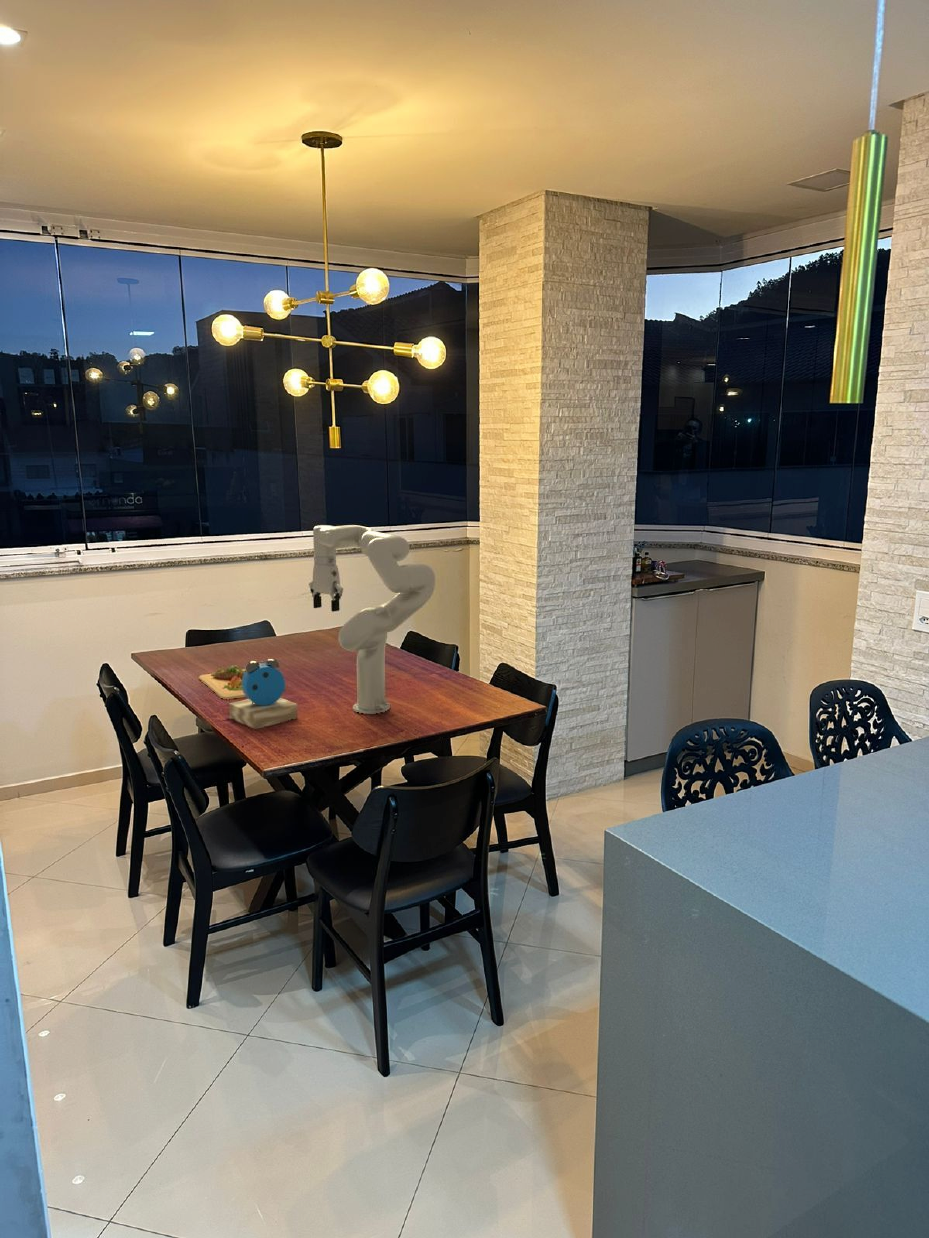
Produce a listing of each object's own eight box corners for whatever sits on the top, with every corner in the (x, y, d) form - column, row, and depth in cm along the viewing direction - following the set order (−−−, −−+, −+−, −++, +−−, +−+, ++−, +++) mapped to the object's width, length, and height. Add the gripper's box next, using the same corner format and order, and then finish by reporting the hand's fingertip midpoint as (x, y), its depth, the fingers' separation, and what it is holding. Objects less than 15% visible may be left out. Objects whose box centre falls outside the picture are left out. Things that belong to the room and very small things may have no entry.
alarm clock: (280, 698, 288) (278, 655, 285) (286, 703, 283) (284, 659, 280) (241, 704, 282) (239, 660, 279) (247, 709, 276) (245, 664, 273)
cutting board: (286, 692, 315) (286, 673, 314) (223, 702, 303) (222, 681, 302) (256, 671, 345) (255, 653, 343) (197, 679, 332) (196, 661, 331)
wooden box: (297, 718, 283) (297, 703, 282) (255, 729, 272) (254, 714, 271) (271, 707, 295) (270, 693, 294) (229, 717, 284) (228, 703, 283)
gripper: (349, 562, 294) (350, 610, 297) (317, 558, 305) (319, 605, 309) (332, 564, 289) (334, 613, 292) (300, 560, 300) (302, 607, 303)
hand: (326, 609), depth 300 cm, fingers open, 9 cm apart
